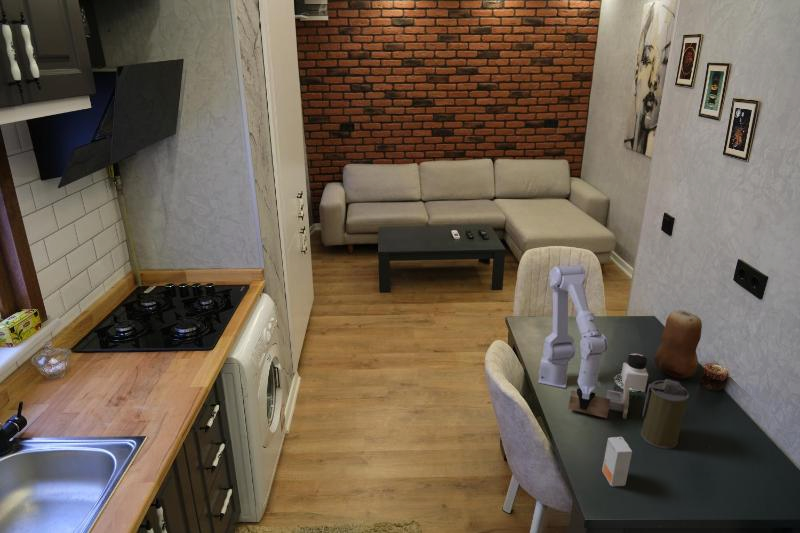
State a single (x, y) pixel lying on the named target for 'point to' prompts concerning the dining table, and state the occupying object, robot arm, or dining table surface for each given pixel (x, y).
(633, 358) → the medicine bottle
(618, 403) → the bracket
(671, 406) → the canister
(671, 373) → the butternut squash
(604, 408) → the brown wooden block
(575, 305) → the robot arm
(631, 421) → the dining table surface
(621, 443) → the skincare box
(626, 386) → the wall plate
